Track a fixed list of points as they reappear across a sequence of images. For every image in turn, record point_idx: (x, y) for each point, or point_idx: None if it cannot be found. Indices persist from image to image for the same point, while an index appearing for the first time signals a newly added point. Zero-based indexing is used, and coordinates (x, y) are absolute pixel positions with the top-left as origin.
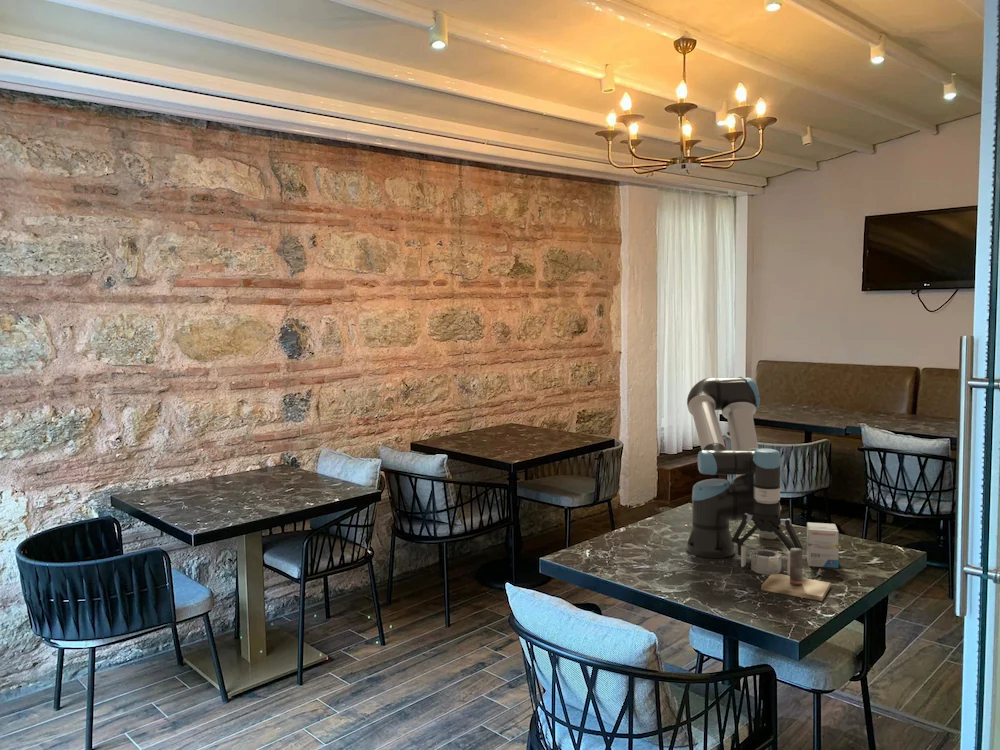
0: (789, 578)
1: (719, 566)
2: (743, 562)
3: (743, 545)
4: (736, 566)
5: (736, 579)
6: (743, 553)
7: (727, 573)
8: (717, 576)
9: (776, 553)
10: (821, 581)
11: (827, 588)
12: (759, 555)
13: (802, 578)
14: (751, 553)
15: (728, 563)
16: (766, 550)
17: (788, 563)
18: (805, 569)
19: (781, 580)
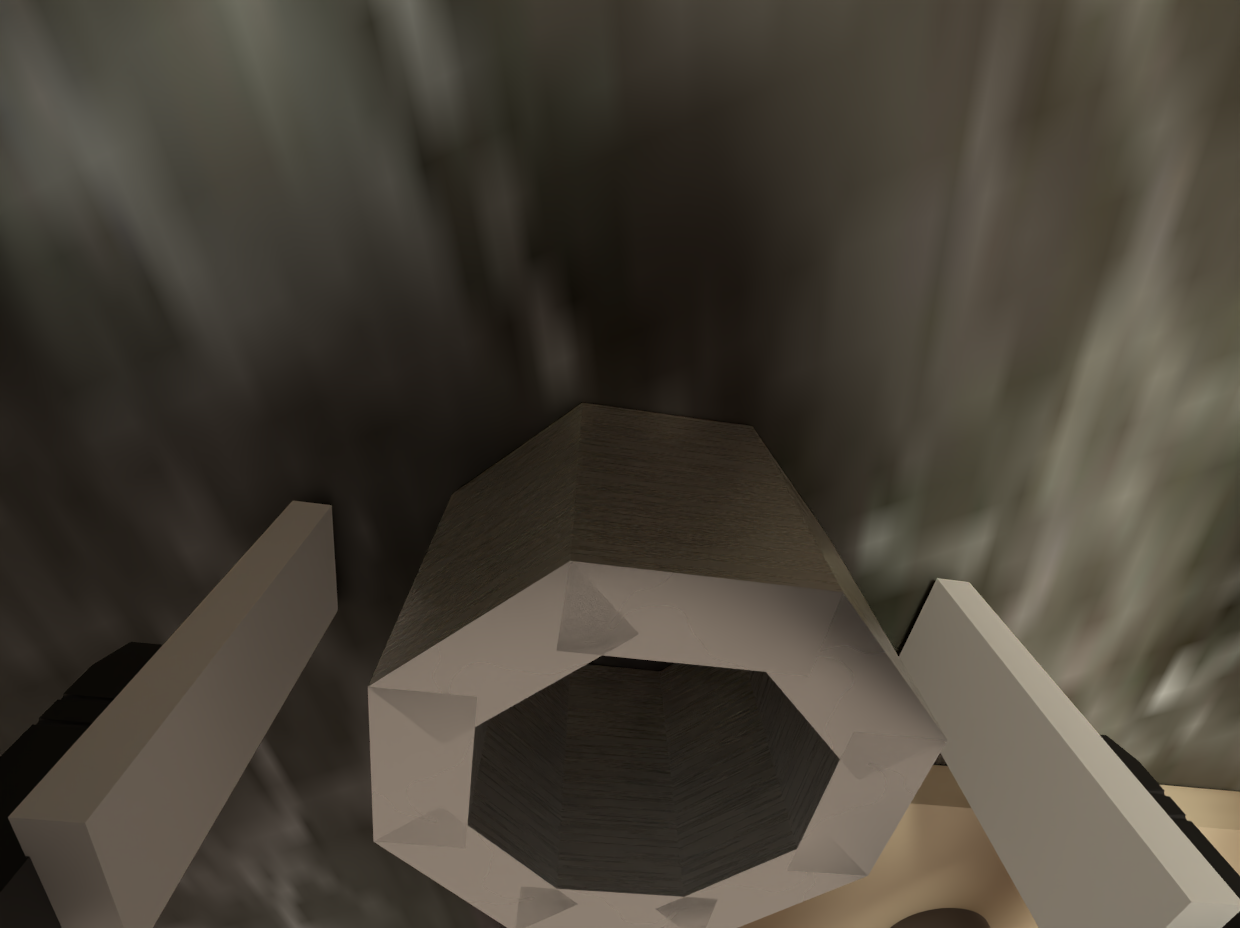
0: (897, 858)
1: (48, 653)
2: (307, 658)
3: (93, 915)
4: None
5: (393, 884)
6: (229, 790)
7: (251, 799)
8: (204, 879)
9: (853, 722)
10: (1216, 834)
11: None
12: (542, 888)
13: None
14: (380, 840)
15: (78, 512)
16: (636, 619)
17: (982, 803)
18: (1206, 370)
19: (810, 911)
